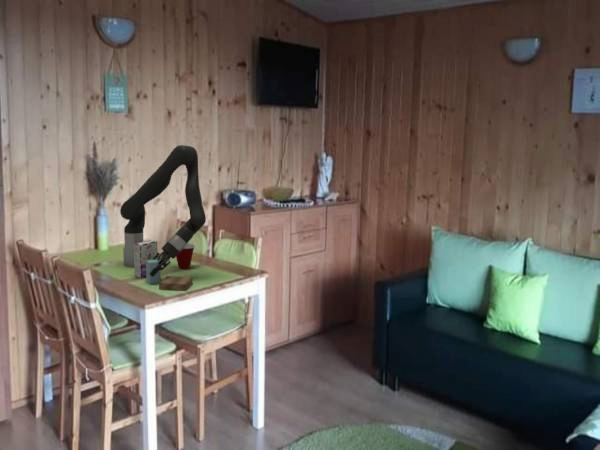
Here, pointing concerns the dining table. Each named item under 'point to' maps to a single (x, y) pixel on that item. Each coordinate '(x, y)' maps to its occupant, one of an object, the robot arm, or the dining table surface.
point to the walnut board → (175, 283)
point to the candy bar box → (143, 256)
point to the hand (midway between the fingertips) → (149, 273)
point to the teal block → (149, 267)
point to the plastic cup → (185, 256)
